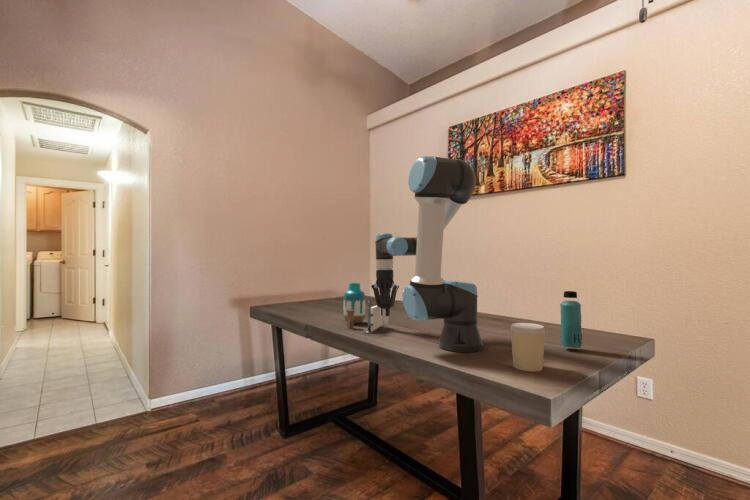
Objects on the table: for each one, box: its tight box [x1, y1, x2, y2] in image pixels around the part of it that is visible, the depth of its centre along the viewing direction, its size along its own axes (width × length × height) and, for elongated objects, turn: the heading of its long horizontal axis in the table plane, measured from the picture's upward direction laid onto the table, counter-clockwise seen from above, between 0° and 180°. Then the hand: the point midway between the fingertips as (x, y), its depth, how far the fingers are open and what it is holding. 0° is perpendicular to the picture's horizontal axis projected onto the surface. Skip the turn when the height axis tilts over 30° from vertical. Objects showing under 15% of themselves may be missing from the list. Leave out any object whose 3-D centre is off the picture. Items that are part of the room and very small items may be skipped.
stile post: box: [346, 309, 355, 330], centre depth 161 cm, size 3×3×8 cm
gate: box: [371, 304, 383, 331], centre depth 158 cm, size 12×2×9 cm, turn 157°
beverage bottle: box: [559, 290, 583, 349], centre depth 123 cm, size 6×7×20 cm
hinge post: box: [364, 300, 375, 334], centre depth 152 cm, size 4×4×13 cm
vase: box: [342, 282, 367, 325], centre depth 172 cm, size 11×11×19 cm
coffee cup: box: [509, 322, 546, 372], centre depth 105 cm, size 9×9×12 cm
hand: (385, 323), depth 157 cm, fingers closed
